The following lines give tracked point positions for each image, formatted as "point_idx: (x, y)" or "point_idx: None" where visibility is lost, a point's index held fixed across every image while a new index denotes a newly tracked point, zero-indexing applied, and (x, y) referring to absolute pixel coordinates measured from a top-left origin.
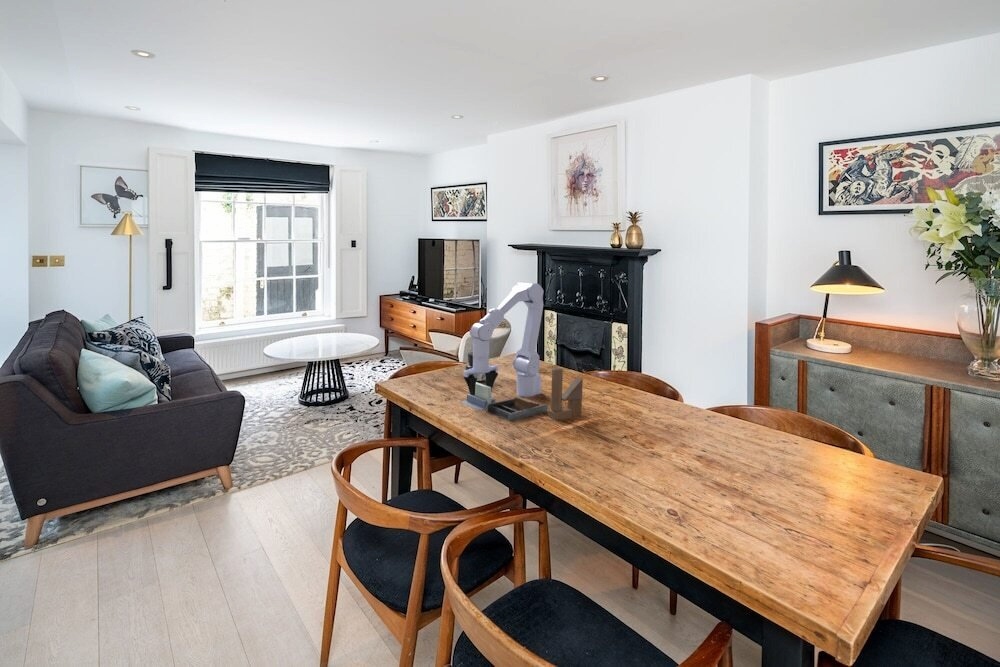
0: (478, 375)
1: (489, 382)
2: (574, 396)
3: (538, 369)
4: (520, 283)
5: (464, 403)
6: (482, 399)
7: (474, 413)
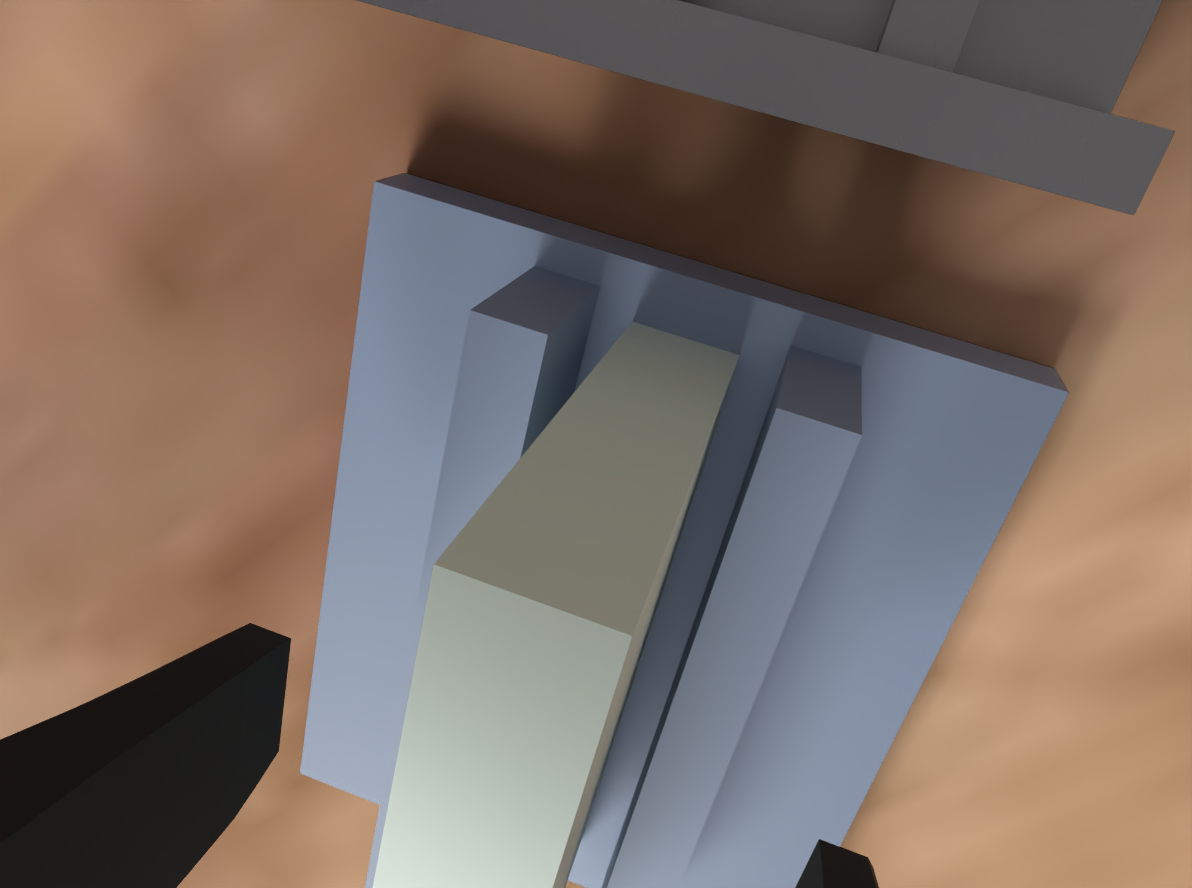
0: None
1: (83, 878)
2: None
3: None
4: None
5: None
6: (727, 584)
7: (1155, 449)
